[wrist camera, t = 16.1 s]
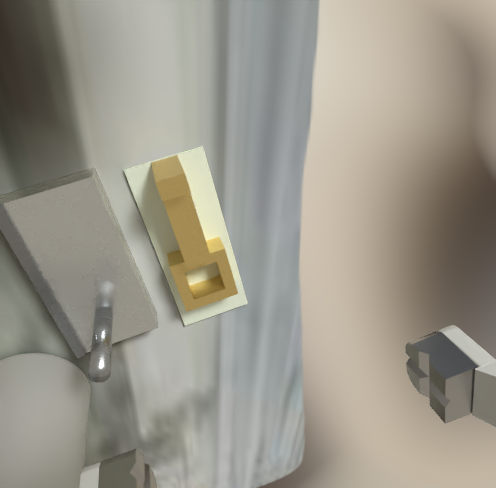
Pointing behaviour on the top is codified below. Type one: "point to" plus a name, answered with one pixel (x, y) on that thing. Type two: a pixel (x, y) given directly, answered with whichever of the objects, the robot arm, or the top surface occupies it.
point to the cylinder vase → (42, 421)
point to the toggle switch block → (79, 264)
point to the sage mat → (165, 237)
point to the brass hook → (191, 240)
